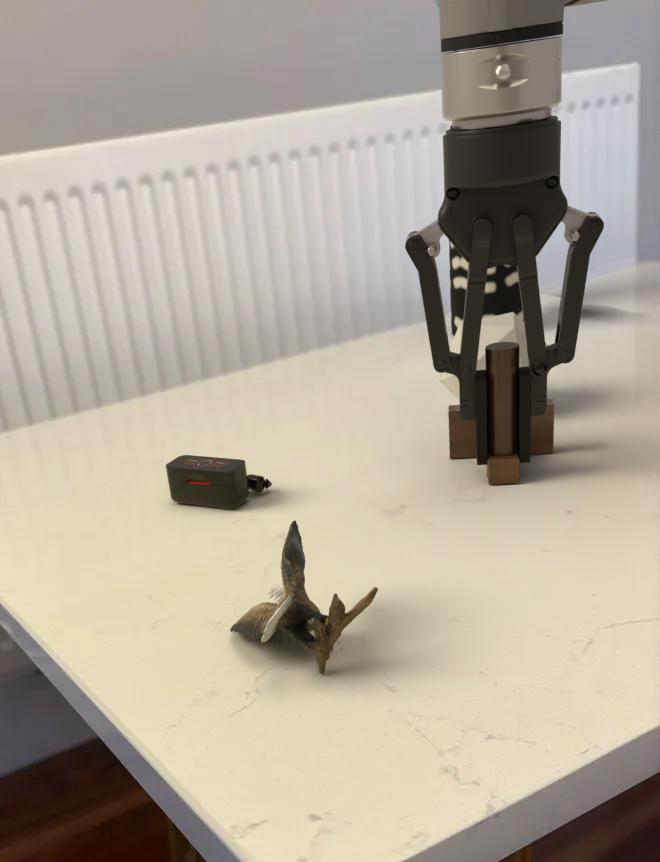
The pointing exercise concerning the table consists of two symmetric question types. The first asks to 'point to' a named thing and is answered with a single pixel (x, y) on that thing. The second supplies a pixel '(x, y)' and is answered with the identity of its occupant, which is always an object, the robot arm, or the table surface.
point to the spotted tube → (498, 289)
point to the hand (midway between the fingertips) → (502, 456)
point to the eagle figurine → (300, 608)
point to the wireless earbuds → (212, 481)
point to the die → (491, 332)
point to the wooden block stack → (501, 419)
